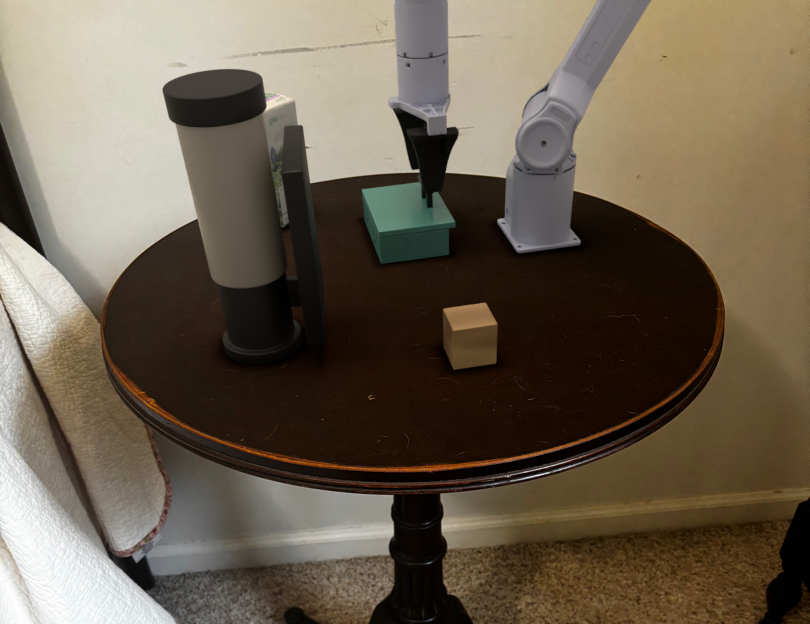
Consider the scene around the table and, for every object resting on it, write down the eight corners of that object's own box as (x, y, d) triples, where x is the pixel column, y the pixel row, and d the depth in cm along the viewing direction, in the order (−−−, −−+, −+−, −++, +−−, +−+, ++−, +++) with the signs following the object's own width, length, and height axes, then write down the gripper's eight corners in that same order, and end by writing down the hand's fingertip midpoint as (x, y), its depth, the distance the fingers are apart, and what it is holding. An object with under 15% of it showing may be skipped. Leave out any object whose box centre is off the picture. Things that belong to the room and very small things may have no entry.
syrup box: (278, 206, 110) (259, 89, 100) (310, 214, 107) (295, 96, 97) (249, 221, 107) (227, 102, 97) (282, 230, 104) (262, 109, 94)
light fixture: (228, 318, 88) (171, 67, 71) (326, 309, 89) (294, 57, 71) (219, 378, 80) (152, 109, 62) (329, 368, 80) (292, 98, 63)
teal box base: (426, 211, 106) (425, 187, 104) (449, 254, 97) (449, 228, 95) (364, 219, 105) (362, 195, 103) (381, 264, 96) (379, 238, 94)
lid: (431, 185, 104) (430, 156, 101) (455, 227, 95) (455, 196, 92) (362, 194, 103) (359, 164, 101) (379, 237, 94) (376, 206, 91)
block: (443, 347, 82) (442, 308, 79) (485, 341, 82) (485, 302, 79) (453, 370, 79) (453, 330, 76) (496, 363, 79) (497, 323, 76)
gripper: (375, 39, 92) (383, 162, 101) (398, 73, 82) (405, 206, 91) (435, 33, 93) (437, 155, 102) (465, 66, 82) (465, 199, 92)
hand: (426, 179), depth 97 cm, fingers open, 7 cm apart
